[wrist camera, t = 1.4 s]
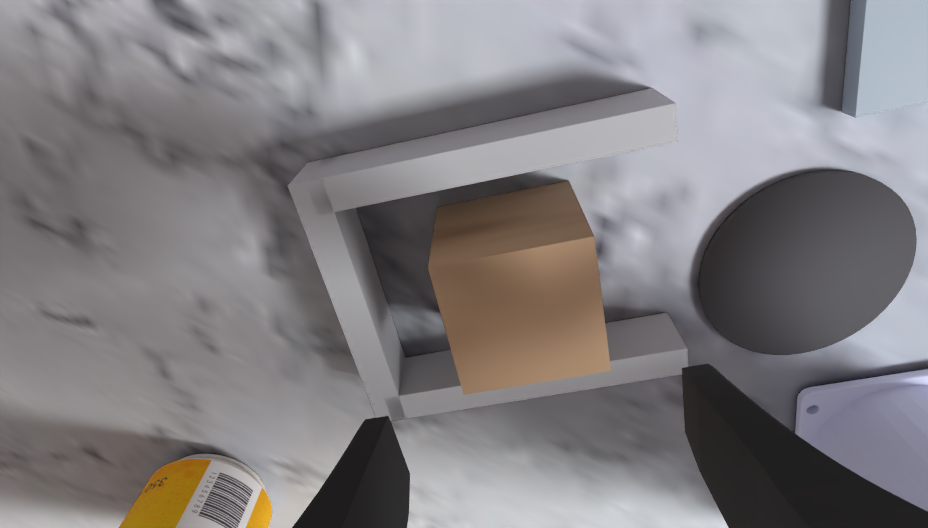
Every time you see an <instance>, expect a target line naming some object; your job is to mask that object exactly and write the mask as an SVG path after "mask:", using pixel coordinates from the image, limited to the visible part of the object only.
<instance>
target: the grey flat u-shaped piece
mask: <svg viewBox="0 0 928 528" xmlns="http://www.w3.org/2000/svg"><path fill="white" fill-rule="evenodd" d="M674 142H678V140H677V120H676V103H675V102H673V101H672V100H670V99H668V98H667V97H665V96H664V95H662V94H661V93H659V92H658V91H656V90H655V89H653V88H650V89H645V90H640V91H636V92H631V93H627V94H622V95H617V96H613V97H608V98H603V99H599V100H594V101H590V102H585V103H580V104H576V105H571V106H567V107H562V108H557V109H553V110H548V111H543V112H539V113H534V114H530V115H525V116H520V117H516V118H511V119H507V120H502V121H497V122H493V123H488V124H483V125H479V126H474V127H470V128H465V129H460V130H456V131H451V132H447V133H442V134H437V135H433V136H428V137H423V138H419V139H414V140H410V141H405V142H400V143H396V144H391V145H387V146H382V147H377V148H373V149H368V150H363V151H359V152H354V153H350V154H345V155H340V156H336V157H331V158H327V159H322V160H317V161H313V162H308V163H307V164H306V165H305V166H304V167H303V168H302V170H301V171H300V172H299V173H298V174H297V175H296V177H295V178H294V179H293V180H292V181H291V182H290V183H289V185H288V188H289V191H290V194H291V196H292V199H293V202H294V204H295V207H296V209H297V212H298V215H299V217H300V220H301V223H302V225H303V228H304V230H305V233H306V236H307V238H308V241H309V244H310V246H311V249H312V251H313V254H314V257H315V259H316V262H317V264H318V267H319V270H320V272H321V275H322V278H323V280H324V283H325V285H326V288H327V291H328V293H329V296H330V299H331V301H332V304H333V306H334V309H335V312H336V314H337V317H338V320H339V322H340V325H341V327H342V330H343V333H344V335H345V338H346V340H347V343H348V346H349V348H350V351H351V354H352V356H353V359H354V361H355V364H356V367H357V369H358V372H359V375H360V377H361V380H362V382H363V385H364V388H365V390H366V393H367V396H368V398H369V401H370V403H371V406H372V409H373V411H374V414H375V416H376V418H378V417H384V416H389V418H390V421H395V420H401V419H408V418H414V417H420V416H426V415H433V414H439V413H445V412H451V411H458V410H464V409H470V408H476V407H483V406H489V405H495V404H501V403H507V402H514V401H520V400H526V399H532V398H539V397H545V396H551V395H557V394H564V393H570V392H576V391H582V390H589V389H595V388H601V387H607V386H614V385H620V384H626V383H632V382H638V381H645V380H651V379H657V378H663V377H670V376H676V375H682V368H685V367H688V348H687V347H686V345H685V343H684V341H683V340H682V338H681V336H680V334H679V333H678V331H677V329H676V327H675V325H674V324H673V322H672V320H671V318H670V317H669V315H668V313H661V314H655V315H649V316H644V317H638V318H632V319H626V320H620V321H615V322H609V323H605V326H606V334H607V342H608V350H609V358H610V366H611V371H607V372H601V373H595V374H589V375H583V376H576V377H570V378H564V379H558V380H552V381H546V382H540V383H534V384H527V385H521V386H515V387H509V388H503V389H497V390H491V391H484V392H478V393H472V394H466V395H463V391H462V387H461V384H460V380H459V377H458V373H457V370H456V366H455V363H454V359H453V356H452V352H451V350H447V351H441V352H435V353H429V354H424V355H418V356H412V357H406V358H405V355H404V352H403V349H402V346H401V343H400V340H399V337H398V334H397V331H396V328H395V325H394V322H393V319H392V316H391V313H390V310H389V307H388V304H387V301H386V298H385V295H384V292H383V289H382V286H381V282H380V279H379V276H378V273H377V270H376V267H375V264H374V261H373V258H372V255H371V252H370V249H369V246H368V243H367V240H366V237H365V234H364V231H363V228H362V225H361V222H360V219H359V216H358V213H357V210H356V208H357V207H362V206H367V205H372V204H377V203H381V202H386V201H391V200H396V199H401V198H406V197H411V196H416V195H420V194H425V193H430V192H435V191H440V190H445V189H450V188H454V187H459V186H464V185H469V184H474V183H479V182H484V181H489V180H493V179H498V178H503V177H508V176H513V175H518V174H523V173H528V172H532V171H537V170H542V169H547V168H552V167H557V166H562V165H567V164H571V163H576V162H581V161H586V160H591V159H596V158H601V157H606V156H610V155H615V154H620V153H625V152H630V151H635V150H640V149H644V148H649V147H654V146H659V145H664V144H669V143H674Z"/></svg>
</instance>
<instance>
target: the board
mask: <svg viewBox="0 0 928 528" xmlns="http://www.w3.org/2000/svg"><path fill="white" fill-rule="evenodd" d="M924 103H928V0H851V5H850V17H849V29H848V41H847V53H846V65H845V77H844V88H843V100H842V112H843V113H845V114H848V115H850V116H853V117H860V116H865V115H870V114H875V113H880V112H885V111H889V110H894V109H899V108H904V107H909V106H914V105H919V104H924Z"/></svg>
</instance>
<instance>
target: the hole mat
mask: <svg viewBox="0 0 928 528" xmlns="http://www.w3.org/2000/svg"><path fill="white" fill-rule="evenodd" d="M915 252H916V228H915V225H914V221H913V217H912V215H911V213H910V211H909V209H908V207H907V206H906V204H905V203H904V201H903V200H902V199H901V198H900V197H899V196H898V195H897V194H896V193H895V192H894V191H893V190H892V189H890V188H889V187H887V186H886V185H884V184H883V183H881V182H879V181H877V180H875V179H872V178H870V177H868V176H865V175H862V174H858V173H854V172H849V171H840V170H822V171H815V172H808V173H804V174H800V175H796V176H792V177H790V178H787V179H784V180H781V181H779V182H777V183H775V184H773V185H771V186H769V187H766V188H764V189H763V190H761V191H760V192H758V193H756V194H755V195H753V196H752V197H750V198H749V199H748V200H746V201H745V202H744V203H743V204H741V205H740V206H739V207H738V208H737V209H736V210H735V211H734V212H733V213H731V214H730V215H729V216H728V217H727V219H726V220H725V221H724V222H723V223H722V225H721V226H720V227H719V228H718V230H717V231H716V233H715V234H714V236H713V238H712V239H711V241H710V243H709V245H708V247H707V249H706V251H705V254H704V257H703V260H702V263H701V267H700V272H699V294H700V299H701V303H702V306H703V309H704V311H705V313H706V315H707V317H708V318H709V320H710V321H711V323H712V324H713V325H714V327H715V328H716V329H717V330H718V331H719V332H720V333H721V334H722V335H723V336H724V337H725V338H727V339H728V340H729V341H731V342H732V343H734V344H736V345H738V346H740V347H742V348H745V349H748V350H751V351H754V352H759V353H763V354H773V355H790V354H799V353H805V352H809V351H814V350H817V349H820V348H824V347H827V346H829V345H832V344H834V343H837V342H839V341H841V340H843V339H845V338H847V337H849V336H851V335H853V334H854V333H856V332H857V331H859V330H860V329H862V328H863V327H865V326H866V325H867V324H869V323H870V322H871V321H873V320H874V319H875V318H876V317H877V316H878V315H879V314H880V313H881V312H882V311H884V310H885V309H886V307H887V306H888V305H889V304H890V303H891V302H892V301H893V299H894V298H895V297H896V295H897V294H898V292H899V291H900V289H901V288H902V286H903V284H904V283H905V281H906V279H907V277H908V275H909V272H910V270H911V267H912V265H913V261H914V256H915Z"/></svg>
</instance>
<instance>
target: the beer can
mask: <svg viewBox="0 0 928 528" xmlns="http://www.w3.org/2000/svg"><path fill="white" fill-rule="evenodd" d="M271 517H272V505H271V501H270V499H269V496H268V495H267V493H266V489H265V486H264V484H263V482H262V480H261V479H260V478H259V476H258V475H257V474H256V473H255V472H254V471H253V470H252V469H250V468H249V467H247V466H246V465H244V464H243V463H241V462H239V461H237V460H234V459H232V458H229V457H226V456H222V455H216V454H195V455H190V456H187V457H184V458H182V459H180V460H178V461H174V462H171V463H169V464H166V465H164V466H163V467H161V468H160V469H158V470H157V471H156V472H155V473H154V474H153V475H152V476H151V478H150V479H149V481H148V483H147V484H146V486H145V487H144V489H143V490H142V492H141V494H140V495H139V497H138V498H137V500H136V501H135V503H134V505H133V506H132V508H131V509H130V511H129V513H128V514H127V516H126V517H125V519H124V520H123V522H122V524H121V525H120V527H119V528H268V526H269V523H270V520H271Z"/></svg>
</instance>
